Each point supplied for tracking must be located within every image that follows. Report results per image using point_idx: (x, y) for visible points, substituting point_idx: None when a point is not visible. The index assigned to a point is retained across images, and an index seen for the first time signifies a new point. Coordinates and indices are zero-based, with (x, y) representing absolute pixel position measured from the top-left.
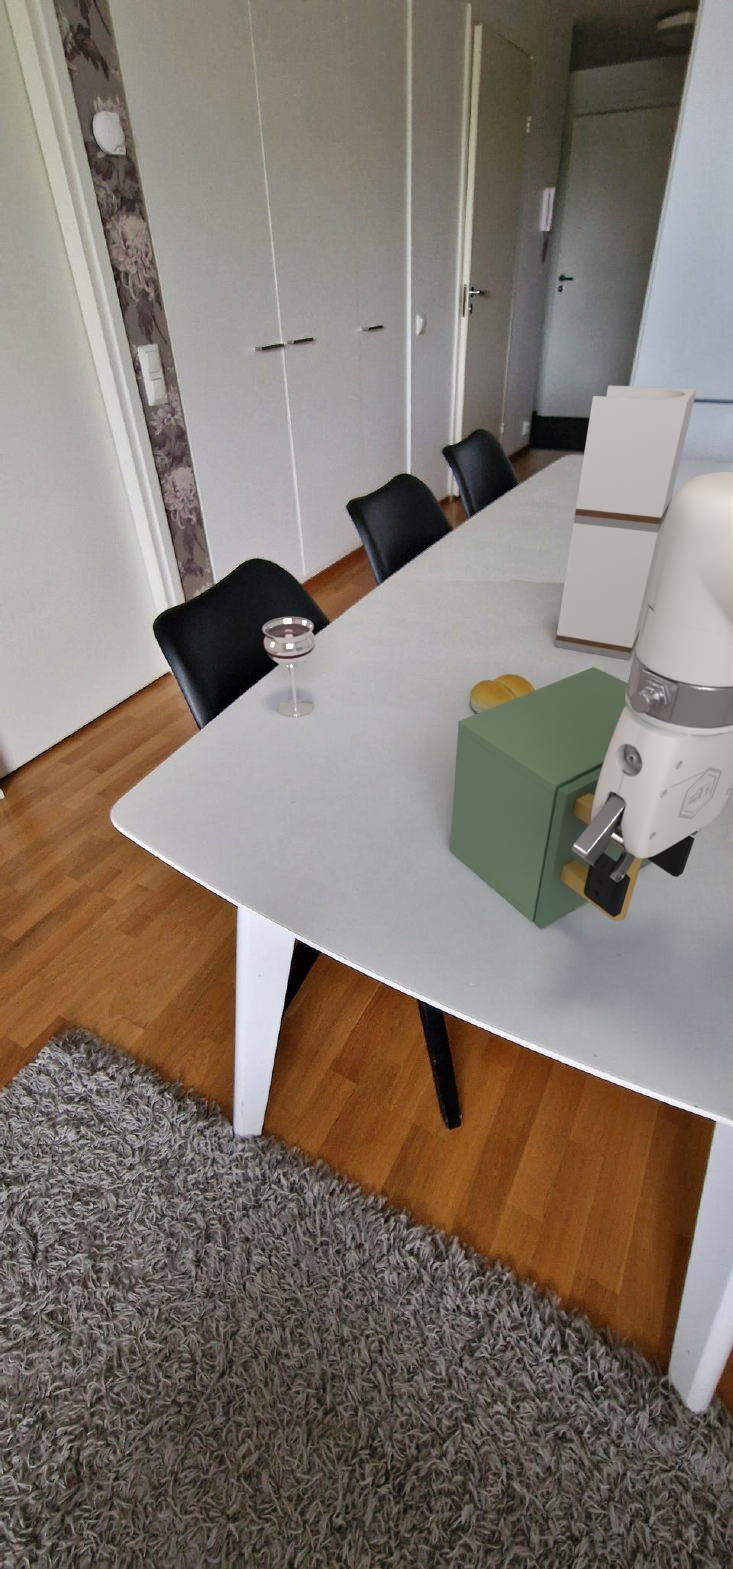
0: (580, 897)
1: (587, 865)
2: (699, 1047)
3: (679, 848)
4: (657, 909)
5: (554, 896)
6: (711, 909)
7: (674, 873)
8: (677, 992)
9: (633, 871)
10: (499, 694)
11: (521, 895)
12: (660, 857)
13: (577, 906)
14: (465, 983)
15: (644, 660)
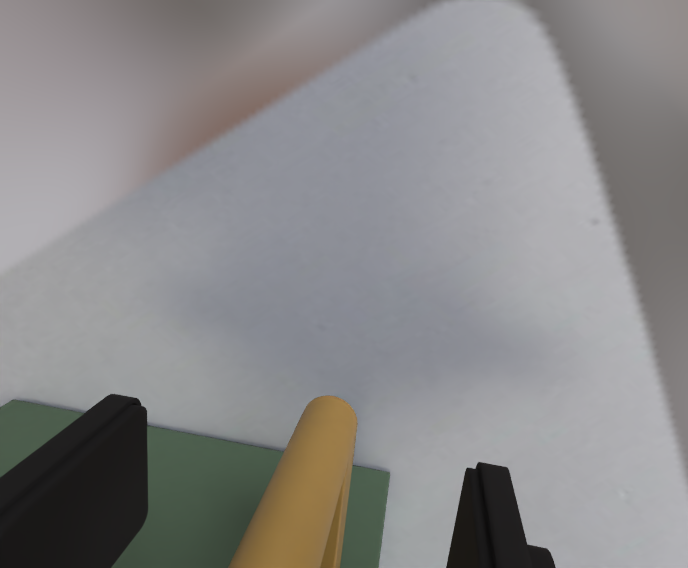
0: (271, 468)
1: (234, 545)
2: (406, 75)
3: (45, 514)
4: (155, 334)
5: (356, 532)
6: (65, 256)
7: (137, 416)
8: (312, 188)
9: (292, 556)
10: None
11: None
12: (122, 499)
13: (283, 452)
14: (629, 504)
15: None
